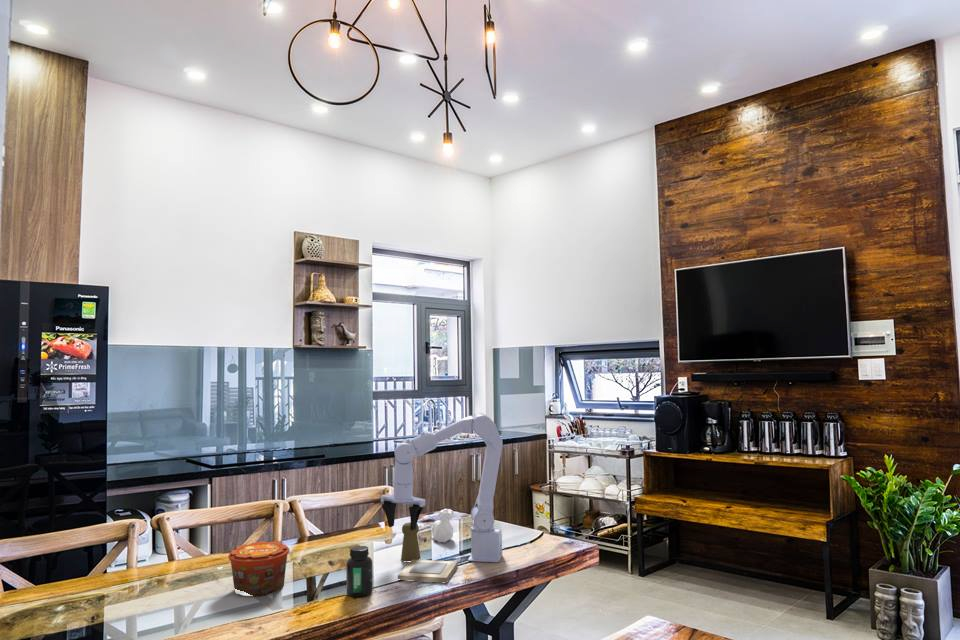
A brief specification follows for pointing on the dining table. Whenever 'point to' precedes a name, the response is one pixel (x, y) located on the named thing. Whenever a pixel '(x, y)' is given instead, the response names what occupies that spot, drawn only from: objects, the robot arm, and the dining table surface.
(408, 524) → the cork
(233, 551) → the food container
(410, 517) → the robot arm
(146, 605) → the dining table surface
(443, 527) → the bust
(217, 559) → the dining table surface
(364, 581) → the supplement bottle
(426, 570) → the base board
